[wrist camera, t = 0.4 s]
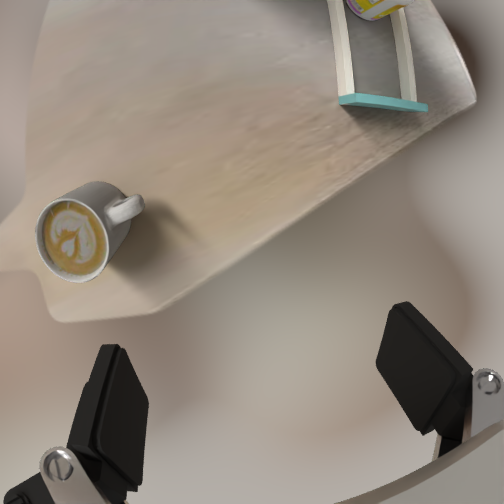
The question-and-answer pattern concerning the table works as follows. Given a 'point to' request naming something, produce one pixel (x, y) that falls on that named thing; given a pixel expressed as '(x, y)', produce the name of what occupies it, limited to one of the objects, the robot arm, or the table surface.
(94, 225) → the coffee mug
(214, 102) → the table surface
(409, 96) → the guide track
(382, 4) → the supplement bottle
